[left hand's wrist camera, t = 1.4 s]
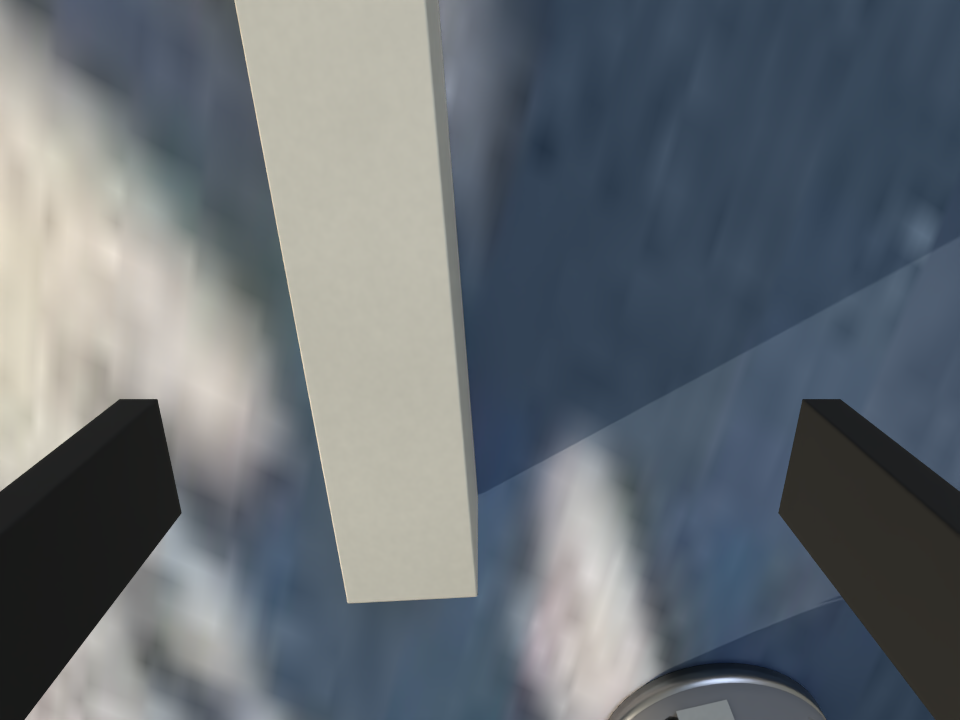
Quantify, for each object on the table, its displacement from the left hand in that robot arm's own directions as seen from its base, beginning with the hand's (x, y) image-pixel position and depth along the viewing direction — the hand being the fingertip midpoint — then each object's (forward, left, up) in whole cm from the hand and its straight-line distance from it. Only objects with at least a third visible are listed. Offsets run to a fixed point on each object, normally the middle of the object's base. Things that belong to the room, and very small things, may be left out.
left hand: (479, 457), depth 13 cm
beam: (+27, +10, -18) cm, 34 cm away
